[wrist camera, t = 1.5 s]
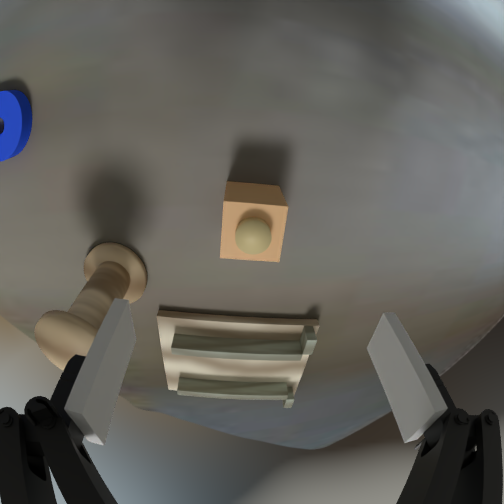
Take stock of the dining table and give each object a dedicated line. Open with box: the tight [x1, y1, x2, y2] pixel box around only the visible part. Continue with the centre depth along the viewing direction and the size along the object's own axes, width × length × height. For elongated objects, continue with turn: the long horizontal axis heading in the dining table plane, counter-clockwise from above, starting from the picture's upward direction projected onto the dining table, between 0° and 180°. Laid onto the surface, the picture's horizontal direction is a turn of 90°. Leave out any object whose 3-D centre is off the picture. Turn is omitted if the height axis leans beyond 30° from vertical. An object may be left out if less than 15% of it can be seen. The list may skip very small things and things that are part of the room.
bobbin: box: [35, 242, 147, 371], centre depth 26 cm, size 8×8×13 cm
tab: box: [220, 181, 288, 262], centre depth 26 cm, size 5×5×7 cm
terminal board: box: [157, 310, 319, 408], centre depth 37 cm, size 16×20×4 cm
